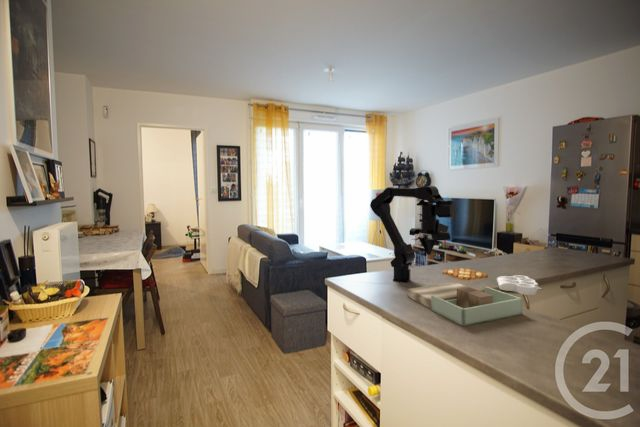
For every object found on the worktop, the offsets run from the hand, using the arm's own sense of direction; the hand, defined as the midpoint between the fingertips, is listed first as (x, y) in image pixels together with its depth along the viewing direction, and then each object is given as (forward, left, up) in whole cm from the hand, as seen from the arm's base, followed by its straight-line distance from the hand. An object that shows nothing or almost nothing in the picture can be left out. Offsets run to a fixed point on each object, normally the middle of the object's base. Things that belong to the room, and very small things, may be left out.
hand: (428, 254), depth 135 cm
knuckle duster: (+33, +10, -14) cm, 37 cm away
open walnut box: (+13, -20, -10) cm, 26 cm away
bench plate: (+7, -14, -13) cm, 20 cm away
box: (+17, -24, -13) cm, 32 cm away
